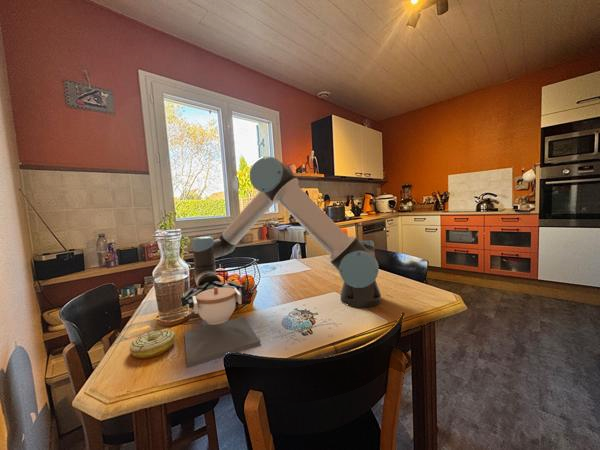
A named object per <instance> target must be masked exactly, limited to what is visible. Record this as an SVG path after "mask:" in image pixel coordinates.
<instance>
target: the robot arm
mask: <svg viewBox="0 0 600 450" xmlns="http://www.w3.org/2000/svg"><path fill="white" fill-rule="evenodd" d="M249 180H250V183H251V185H252V186H253V187H254V189H255V190H257V192H258V193H257V194H256V195H255V196H254V197H253V198H252V199H251V200H250V202H249V203H247V205H246V206H245V207H244V208H243V209H242V211H241V212H239V214H238V215H237V216H236V217H235V218H234V219H233V221H232V222H231V223H230V224H229V225H228V226H227V227H226V229H224V231H223V232H222V233H221V234H220V235H219V237H217V238H216V239H214V237H213V236H199V237H198V236H197V237H194V238H193V239H192V253H193V255H192V257H193V266H194V267H193V269H194V274H193V275H194V279H193V280H194V282H195V284H196V286H197V287H196V288H195V287H187V290H186V291H185V292H184V294H183V295H182V296H180V302H181V303H180V304H181V307H186V306H187V305H188V309H192V308H193V310H194V314H195V315H196V314H199V312H198V305H197V300H196V295H197V294H199V293H200V292H203V291H205V290H208V289H213V288H214V287H218V288H220V287H228V288H233V289H235V290H236V302H237V303H238V305H242V300H243V299H242V298H243V295H245V294H246V290H245V287H246V286H245V285H243V284H240V283H237V282H234V281H233V280H228V282H227V283H224V282H222V281H221V279H220V277H219V276H218V275H217V273H216V272H217V271H216V259H217V258H219V257H220V258H221V257H224V256H226V255H227V256H228V255H229V254H231V253H233V251H235V249H236V245H238V243H239V242H240V241H241V240H242V238H243V237H244V236H245V235H247V233H248V232H249V231H250V230H251V229H252V228H253V227H254V225H256V223H257V222H258V221H260V219H261V218H262V217H263V216H264V215H265V213H267V212H268V211H269V210H270V208H271V207H272V206H273V205H275V204H280V205H281V206H282V207H283V208H284V209H285V210H286V211H287V212H288V214H290V215H291V216H292V217H293V218H294V219H295V220H296V221H297V222H298V223H299V225H301V226H302V228H303V229H304V230H305V231H306V232H307V233H308V234H309V235H310V236H311V238H313V239H314V240H315V241H316V243H318V244H319V245H320V247H321V248H323V250H324V251H325V252H327V253H328V255H329V262H330V263H331V264H332V266H333V267H335V269H336V270H337V272H339V275H340V278H341V279H342V280H343V284H342V287H341V291H340V301H342V302H341V303H343V302H344V303H346V304H348V305H347V306H349V305H351V306H350V307H353V306H357V307H356V308H370V307H371V308H372V307H375V306H378V305H380V304H381V303H382V294H381V291H380V289H379V286H378V284H377V281H376V279H377V278H378V274H379V272H380V271H379V268H380V266H379V262H378V260H377V259H376V254H375V253H376V252H375V250H376V247H375V243H374V241H373V240H359V239H358V238H357V237H355V236H348V235H347V233H346V232H344V230H342V229H341V228H340V227H339V226H338V225H337V223H335V221H334V220H333V219H332V218H330V216H329V215H328V214H326V213H325V211H324V210H323V209H321V208H320V206H319V205H317V203H316V202H315V201H314V200H313V199H312V198H311V197H310V196H309V195H307V193H306V192H305V191H304V190H303V189H302V188H301V187H300V186H299V179H298V178H297V176H295V175H294V172H293V170H292V169H291V168H290V167H289V166H288V165H287V164H285V163H283V162H281V160H279V159H277V158H276V157H272V156H262V157H260V158H258V159H256V160H255V161H254V162H253V164H252V165H251V167H250V171H249ZM380 302H381V303H380ZM344 303H343V304H344ZM346 304H345V305H346Z"/></svg>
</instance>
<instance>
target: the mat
mask: <svg viewBox="0 0 600 450" xmlns="http://www.w3.org/2000/svg"><path fill="white" fill-rule="evenodd" d="M183 334H184V344H185V345H184V347H185V355H186V356H185V357H186V367H187V368H190V367H193V366H196V365H198V364H202V363H204V362H208V361H211V360H215V359H217V358H222V357H224V355H225V354H226V353H228V352H234V353H237V352H240V351H244V350H247V349H250V348H253V347H257V346H261V340H260V338H259V337H258V335H257V334H256V332H255V331H254V330H253V328H252V327H251V326H250V323H248V321H247V320H246V318H245V317H244V316H241V317H237V318H232V319H228V320H227V321H226V322H224V323H221V324H216V325H211V324H207V325H205V326H201V327H197V328H193V329H189V330H184V331H183ZM225 356H226V355H225Z"/></svg>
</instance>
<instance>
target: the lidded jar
mask: <svg viewBox="0 0 600 450" xmlns="http://www.w3.org/2000/svg"><path fill="white" fill-rule="evenodd" d="M196 300H197V305H198V315H199V317H200V318H201V320H203V321H205V322H206V324H207V325H216V324H221V323H224V322H226V321H228V320H230V318H231V316H232V314H233V313H234V312H235V309H236V302H237V301H236V290H235V289H233V288H228V287H220V288H218V287H214V288H213V289H208V290H205V291H203V292H200V293H199V294H197V295H196Z"/></svg>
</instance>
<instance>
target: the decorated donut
mask: <svg viewBox="0 0 600 450" xmlns="http://www.w3.org/2000/svg"><path fill="white" fill-rule="evenodd" d="M175 339H176V333H175V332H173V331H172V330H169V329H158V330H154V331H149V332H146V333H144V334H141V335H139V336H138V337H136V338H135V339H134V340H133V341H132V342H131V343H130V345H129V352H130V353H131V355H132V357H133V358H135V359H150V358H153V357H156V356H160V355H162V354H164V353H165V352H167V351H168V350H170V349H171V347H172V346H173V345H174V342H175Z"/></svg>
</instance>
